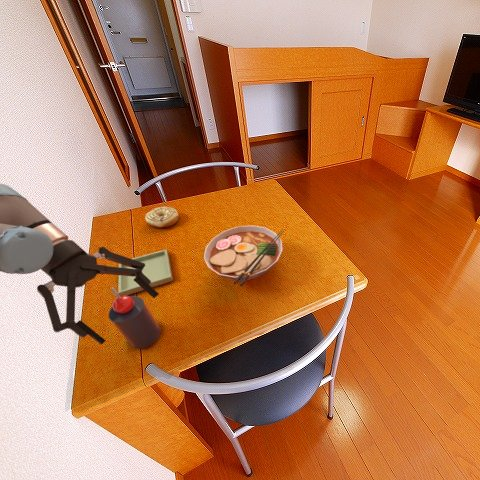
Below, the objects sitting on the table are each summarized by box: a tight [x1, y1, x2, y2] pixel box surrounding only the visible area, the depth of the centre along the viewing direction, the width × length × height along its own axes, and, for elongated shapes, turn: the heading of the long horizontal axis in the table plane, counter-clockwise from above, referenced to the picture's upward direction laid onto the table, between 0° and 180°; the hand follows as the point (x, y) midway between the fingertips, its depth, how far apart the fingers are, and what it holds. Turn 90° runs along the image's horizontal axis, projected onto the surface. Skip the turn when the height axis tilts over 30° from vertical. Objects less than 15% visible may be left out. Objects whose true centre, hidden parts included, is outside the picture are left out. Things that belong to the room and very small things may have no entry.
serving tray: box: [117, 249, 174, 296], centre depth 82 cm, size 13×13×2 cm
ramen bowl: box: [203, 224, 285, 287], centre depth 84 cm, size 25×23×8 cm
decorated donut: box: [144, 206, 179, 229], centre depth 101 cm, size 10×11×4 cm
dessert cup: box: [108, 286, 162, 350], centre depth 62 cm, size 7×7×18 cm
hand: (132, 317), depth 63 cm, fingers open, 13 cm apart
